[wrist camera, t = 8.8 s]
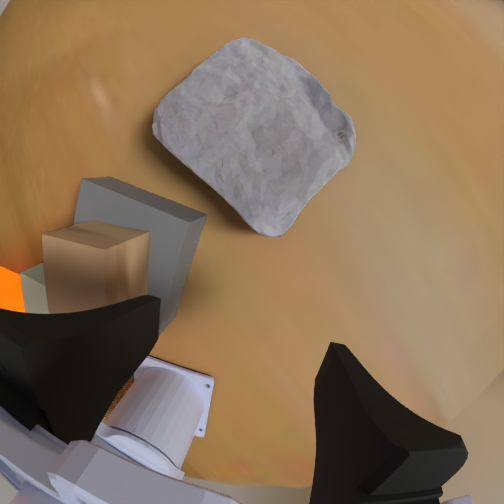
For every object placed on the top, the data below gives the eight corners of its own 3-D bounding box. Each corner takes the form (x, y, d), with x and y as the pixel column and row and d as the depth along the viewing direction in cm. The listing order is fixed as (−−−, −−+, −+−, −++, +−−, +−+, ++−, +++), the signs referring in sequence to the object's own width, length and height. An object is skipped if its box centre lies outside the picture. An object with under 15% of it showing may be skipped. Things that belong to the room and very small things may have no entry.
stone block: (244, 51, 19) (153, 137, 20) (244, 17, 14) (129, 119, 15) (359, 148, 20) (271, 244, 21) (387, 133, 15) (278, 253, 16)
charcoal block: (176, 314, 23) (156, 338, 20) (93, 271, 24) (65, 286, 20) (208, 214, 21) (189, 222, 17) (112, 176, 21) (82, 178, 17)
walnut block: (147, 302, 19) (108, 337, 14) (91, 286, 19) (48, 311, 14) (150, 231, 17) (105, 249, 13) (91, 220, 18) (41, 234, 13)
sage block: (90, 317, 25) (60, 340, 20) (57, 301, 25) (26, 320, 20) (89, 271, 23) (53, 289, 19) (54, 257, 24) (19, 272, 19)
